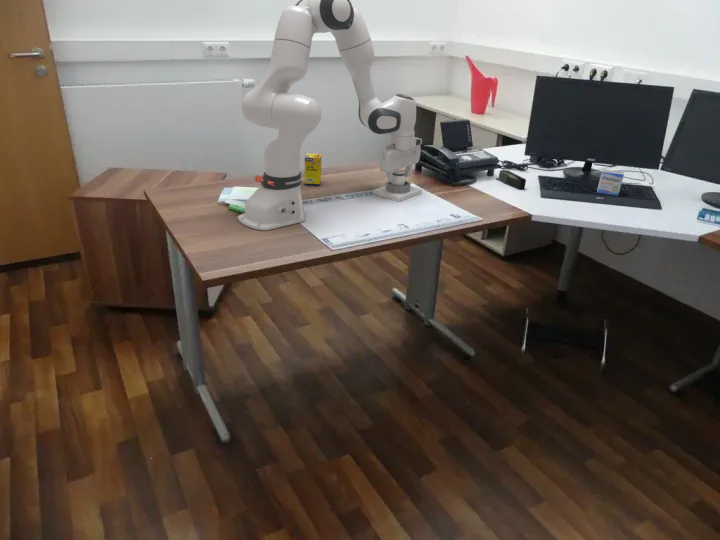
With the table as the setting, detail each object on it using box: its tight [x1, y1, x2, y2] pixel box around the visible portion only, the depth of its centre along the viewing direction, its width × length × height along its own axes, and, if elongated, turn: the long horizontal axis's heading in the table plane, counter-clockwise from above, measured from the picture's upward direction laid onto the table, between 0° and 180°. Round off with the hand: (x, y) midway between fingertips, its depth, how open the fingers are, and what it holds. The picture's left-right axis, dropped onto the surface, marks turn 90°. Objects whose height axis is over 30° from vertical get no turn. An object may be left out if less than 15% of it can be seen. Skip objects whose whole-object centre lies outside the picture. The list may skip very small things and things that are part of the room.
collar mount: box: [372, 180, 423, 203], centre depth 206 cm, size 14×12×4 cm
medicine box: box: [596, 169, 625, 197], centre depth 216 cm, size 8×4×9 cm, turn 68°
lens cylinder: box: [391, 168, 406, 186], centre depth 204 cm, size 5×5×7 cm
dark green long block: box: [495, 169, 527, 191], centre depth 222 cm, size 5×3×15 cm
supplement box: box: [304, 153, 322, 187], centre depth 210 cm, size 6×6×11 cm
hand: (398, 179), depth 204 cm, fingers open, 8 cm apart
